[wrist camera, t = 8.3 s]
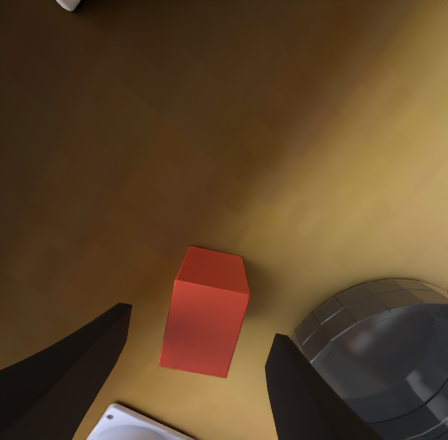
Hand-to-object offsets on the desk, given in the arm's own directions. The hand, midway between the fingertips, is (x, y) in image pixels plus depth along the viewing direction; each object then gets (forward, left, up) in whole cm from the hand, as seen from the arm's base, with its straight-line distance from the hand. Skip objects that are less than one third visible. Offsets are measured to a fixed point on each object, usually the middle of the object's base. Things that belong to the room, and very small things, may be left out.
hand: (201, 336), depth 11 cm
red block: (0, 0, -5) cm, 5 cm away
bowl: (+2, -14, -5) cm, 15 cm away
